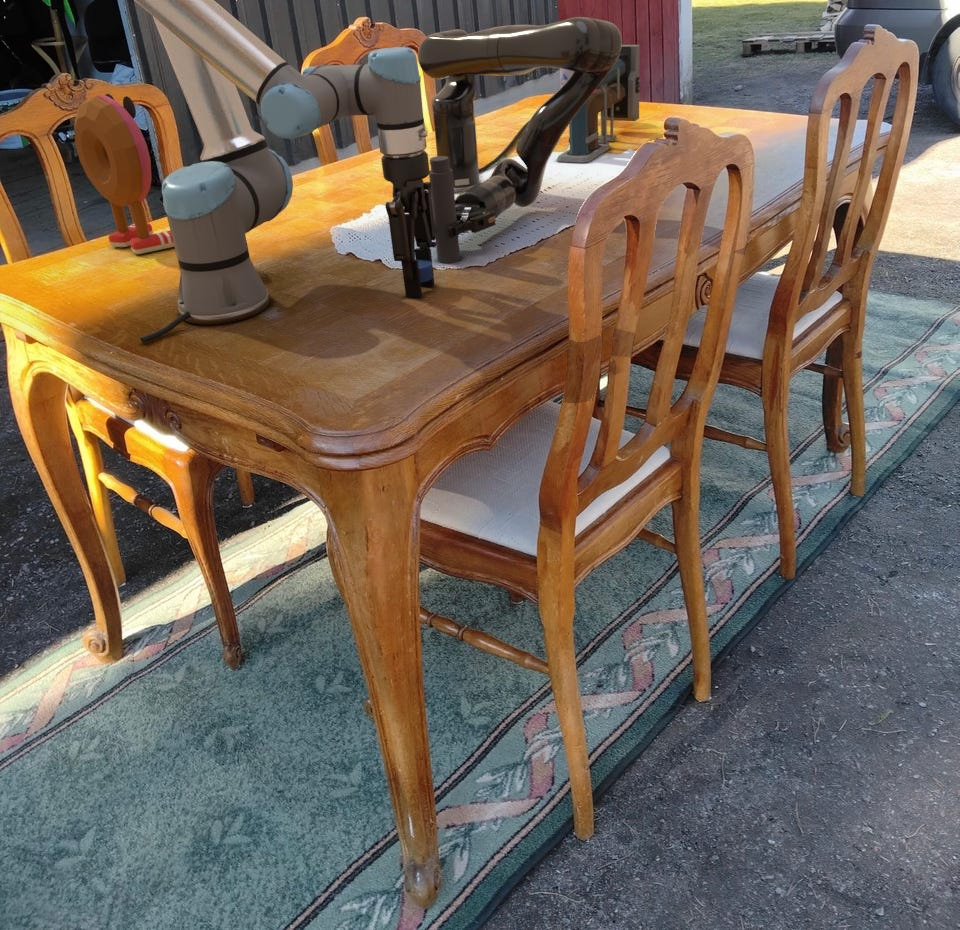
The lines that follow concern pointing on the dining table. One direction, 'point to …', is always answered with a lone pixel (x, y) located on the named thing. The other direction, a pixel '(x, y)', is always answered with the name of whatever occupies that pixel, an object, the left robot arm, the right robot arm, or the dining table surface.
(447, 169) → the bottle
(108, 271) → the dining table surface
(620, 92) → the clamp
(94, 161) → the toy
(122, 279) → the dining table surface
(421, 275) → the lid
